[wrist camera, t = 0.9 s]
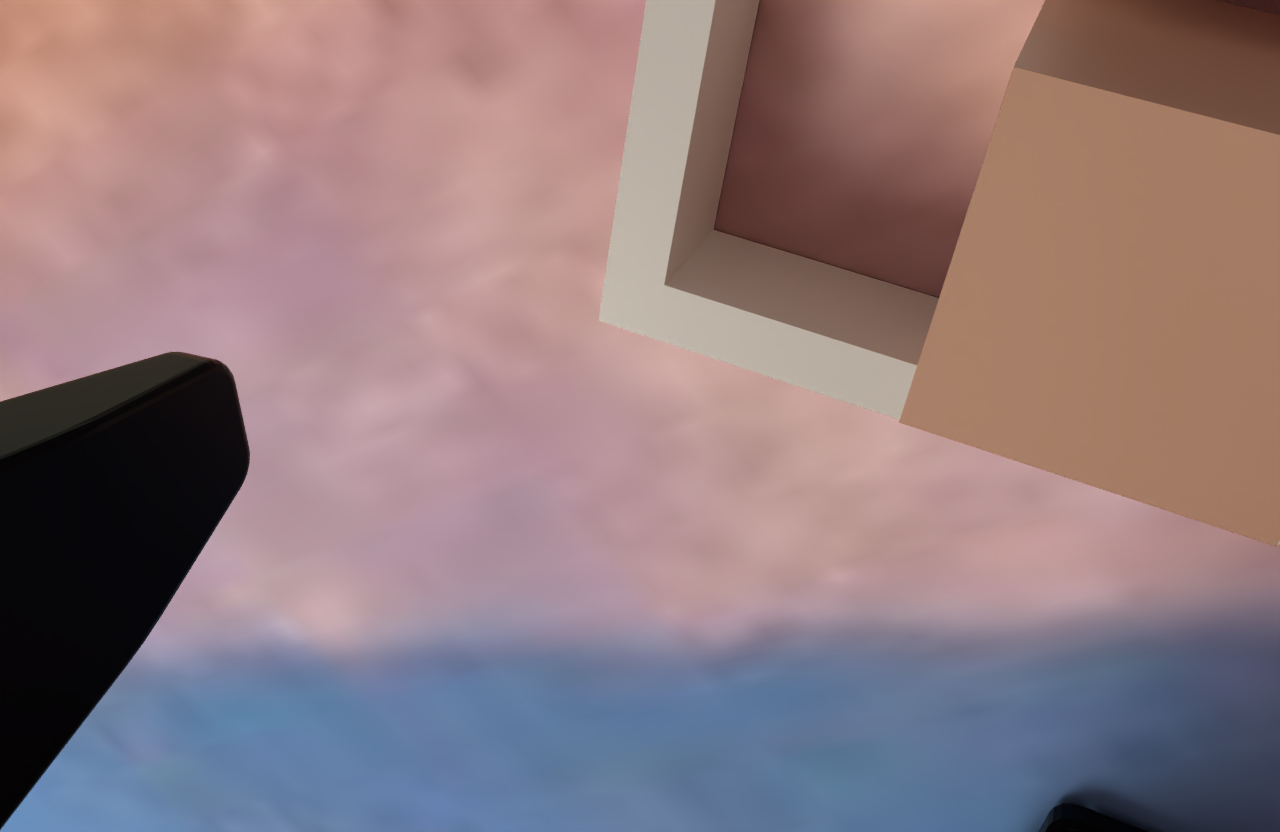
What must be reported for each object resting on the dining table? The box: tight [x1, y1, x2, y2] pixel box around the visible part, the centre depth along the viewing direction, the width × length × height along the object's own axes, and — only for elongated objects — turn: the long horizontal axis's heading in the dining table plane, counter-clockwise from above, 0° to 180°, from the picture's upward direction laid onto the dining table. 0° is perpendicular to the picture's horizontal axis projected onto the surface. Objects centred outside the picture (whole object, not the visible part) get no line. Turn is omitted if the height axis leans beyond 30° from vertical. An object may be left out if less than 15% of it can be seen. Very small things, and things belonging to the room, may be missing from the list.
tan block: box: [899, 0, 1280, 546], centre depth 16 cm, size 4×4×6 cm
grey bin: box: [598, 0, 1280, 545], centre depth 17 cm, size 15×8×2 cm, turn 81°
